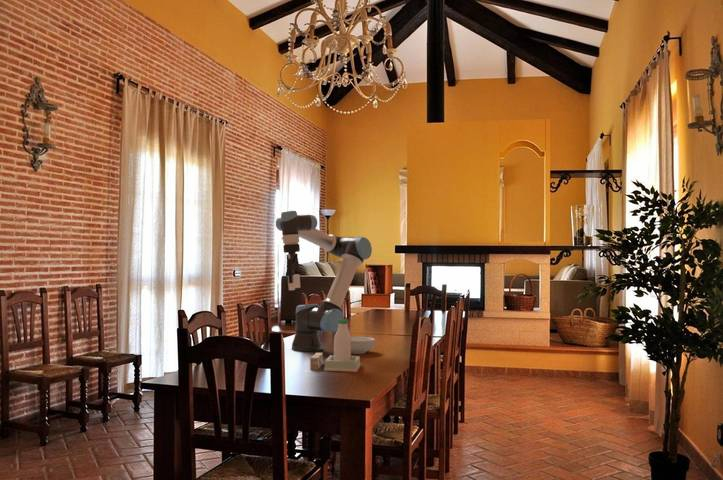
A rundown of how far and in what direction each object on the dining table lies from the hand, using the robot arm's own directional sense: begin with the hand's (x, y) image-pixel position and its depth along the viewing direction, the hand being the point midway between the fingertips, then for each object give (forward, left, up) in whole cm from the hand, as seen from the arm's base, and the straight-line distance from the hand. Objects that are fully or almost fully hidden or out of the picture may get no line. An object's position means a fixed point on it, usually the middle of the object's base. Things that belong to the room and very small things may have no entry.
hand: (294, 289), depth 281 cm
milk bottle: (+16, +25, -32) cm, 44 cm away
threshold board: (+16, +14, -33) cm, 39 cm away
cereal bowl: (-24, +28, -33) cm, 49 cm away
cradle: (+16, +26, -33) cm, 45 cm away
